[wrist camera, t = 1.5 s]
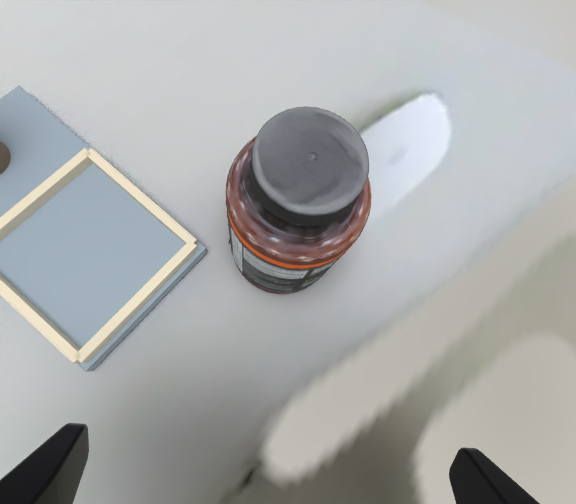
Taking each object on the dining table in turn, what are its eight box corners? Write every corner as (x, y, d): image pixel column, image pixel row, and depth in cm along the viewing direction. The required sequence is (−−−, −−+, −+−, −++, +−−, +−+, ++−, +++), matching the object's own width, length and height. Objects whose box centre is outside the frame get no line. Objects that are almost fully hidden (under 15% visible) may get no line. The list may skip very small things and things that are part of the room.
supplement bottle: (266, 183, 25) (287, 48, 14) (346, 235, 24) (430, 138, 14) (210, 260, 23) (184, 173, 12) (295, 316, 23) (345, 278, 12)
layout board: (207, 252, 23) (188, 189, 15) (92, 370, 21) (-12, 379, 12) (27, 96, 24) (-89, -48, 16) (-100, 190, 22) (-319, 83, 13)
